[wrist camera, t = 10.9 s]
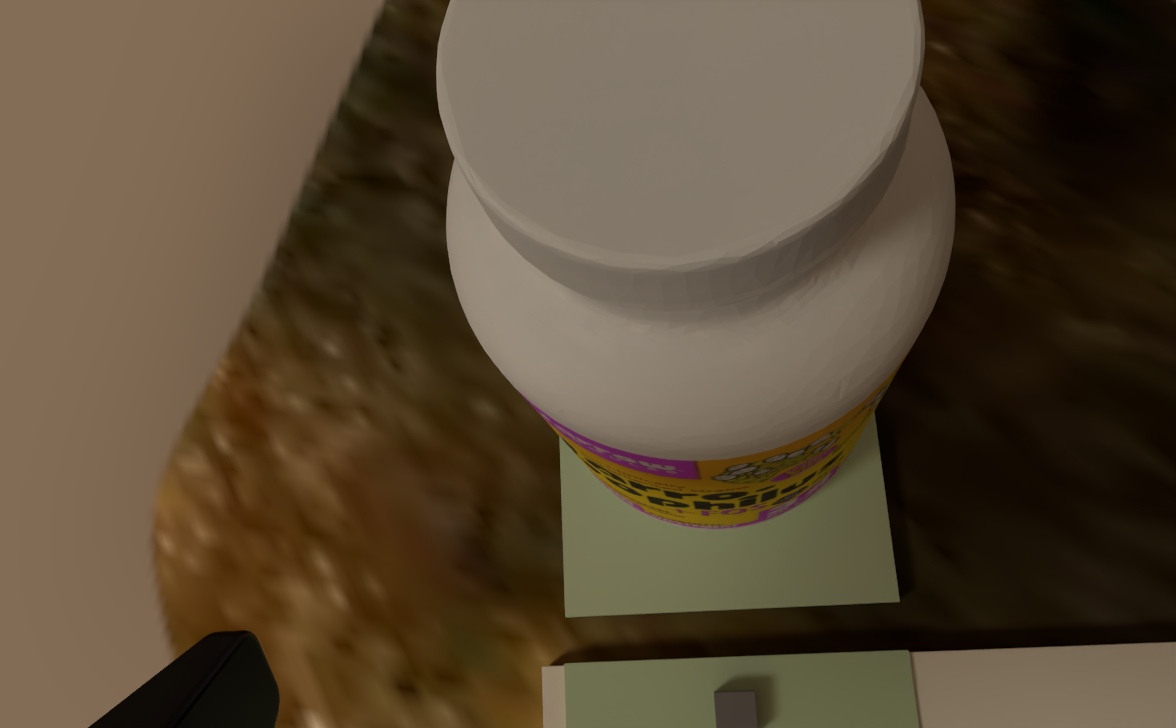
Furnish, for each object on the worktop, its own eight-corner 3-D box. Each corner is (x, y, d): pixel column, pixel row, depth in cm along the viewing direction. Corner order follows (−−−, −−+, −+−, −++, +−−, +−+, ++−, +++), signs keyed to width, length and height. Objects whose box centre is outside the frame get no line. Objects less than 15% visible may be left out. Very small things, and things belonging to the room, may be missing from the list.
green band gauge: (1391, 749, 17) (1436, 757, 16) (550, 767, 20) (537, 775, 18) (1223, 130, 21) (1251, 101, 20) (535, 208, 23) (524, 186, 22)
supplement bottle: (553, 522, 21) (267, 351, 8) (585, 247, 22) (386, -219, 10) (865, 549, 19) (1053, 396, 7) (871, 256, 21) (1033, -266, 9)
